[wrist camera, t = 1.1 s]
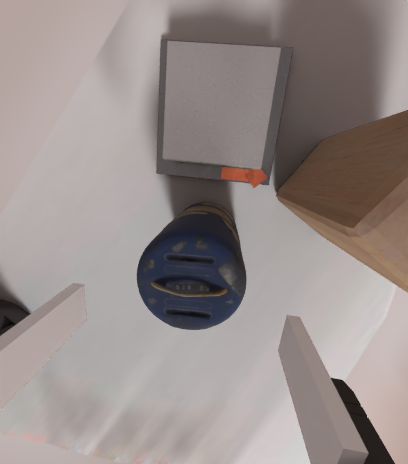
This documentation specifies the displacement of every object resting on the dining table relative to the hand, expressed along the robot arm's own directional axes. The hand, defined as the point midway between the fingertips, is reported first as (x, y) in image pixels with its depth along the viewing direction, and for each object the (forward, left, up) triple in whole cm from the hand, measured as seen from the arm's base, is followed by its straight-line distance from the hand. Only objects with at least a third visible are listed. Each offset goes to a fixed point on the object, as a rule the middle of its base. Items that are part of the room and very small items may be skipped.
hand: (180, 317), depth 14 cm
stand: (0, +16, -20) cm, 26 cm away
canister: (0, 0, -21) cm, 21 cm away
